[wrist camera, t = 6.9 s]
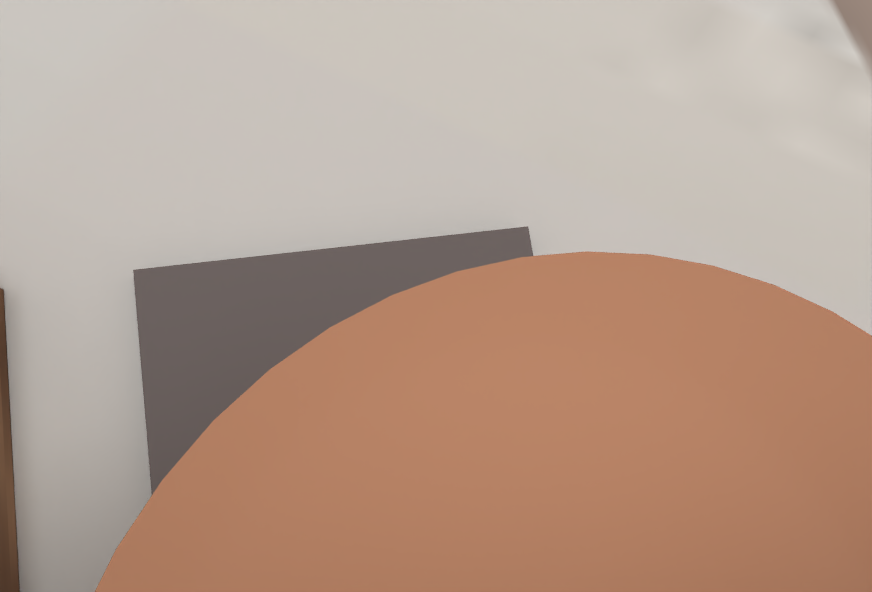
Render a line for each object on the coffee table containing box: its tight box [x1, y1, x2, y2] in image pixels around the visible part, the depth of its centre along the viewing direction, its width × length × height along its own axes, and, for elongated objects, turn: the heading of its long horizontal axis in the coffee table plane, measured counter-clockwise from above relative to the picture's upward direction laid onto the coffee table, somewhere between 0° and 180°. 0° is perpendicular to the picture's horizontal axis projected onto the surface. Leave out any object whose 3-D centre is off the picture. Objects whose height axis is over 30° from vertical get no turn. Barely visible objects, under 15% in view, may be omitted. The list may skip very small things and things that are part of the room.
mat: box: [133, 227, 533, 495], centre depth 21 cm, size 14×11×1 cm
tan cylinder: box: [95, 252, 872, 592], centre depth 9 cm, size 4×4×12 cm
